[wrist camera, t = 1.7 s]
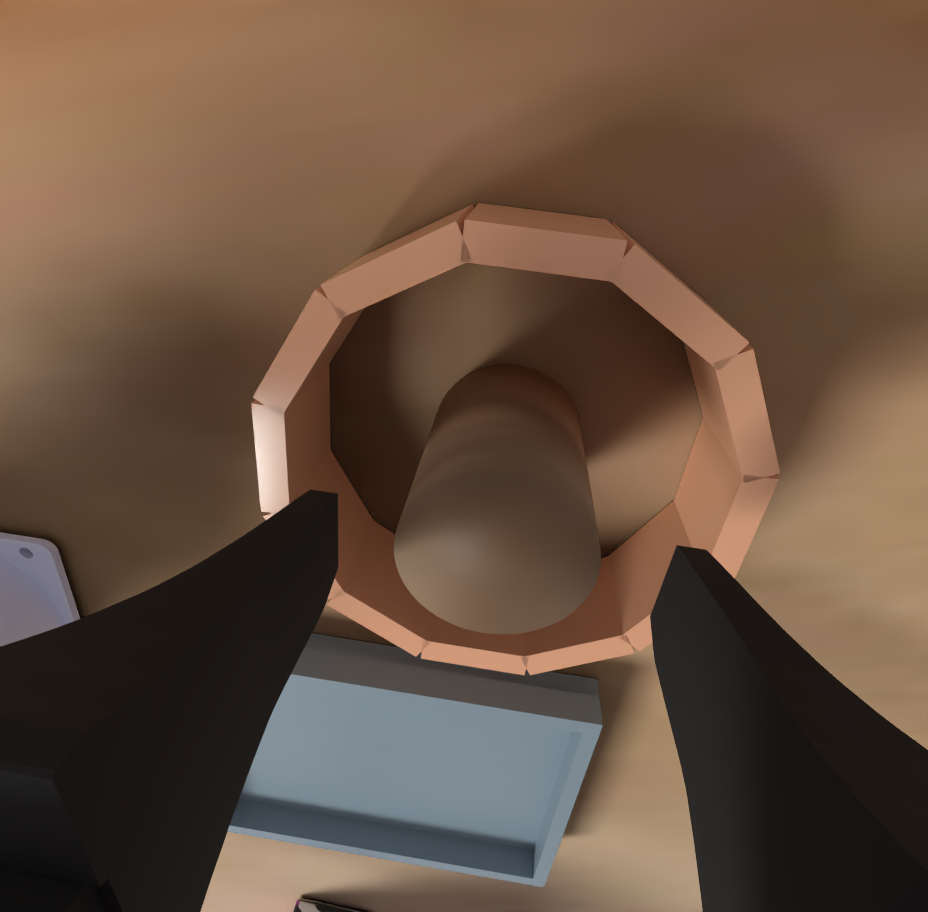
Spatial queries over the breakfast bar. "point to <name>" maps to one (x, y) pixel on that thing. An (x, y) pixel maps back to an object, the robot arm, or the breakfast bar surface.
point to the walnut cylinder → (501, 507)
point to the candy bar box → (318, 907)
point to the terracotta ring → (621, 573)
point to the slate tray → (422, 760)
